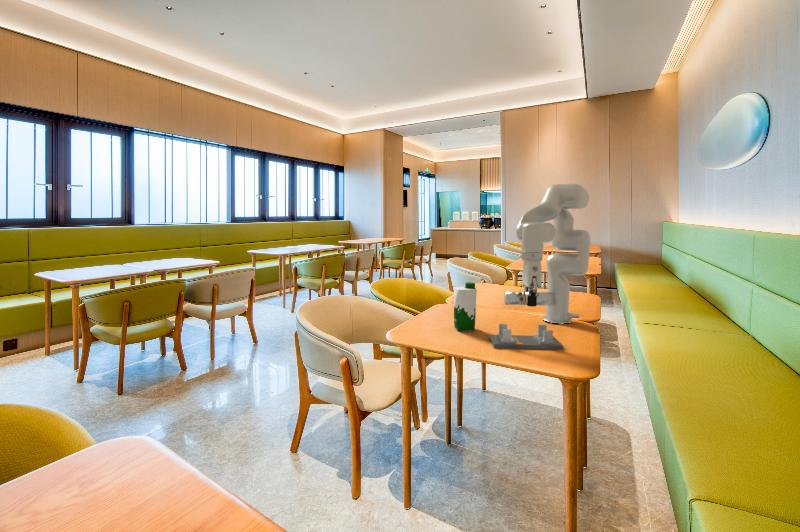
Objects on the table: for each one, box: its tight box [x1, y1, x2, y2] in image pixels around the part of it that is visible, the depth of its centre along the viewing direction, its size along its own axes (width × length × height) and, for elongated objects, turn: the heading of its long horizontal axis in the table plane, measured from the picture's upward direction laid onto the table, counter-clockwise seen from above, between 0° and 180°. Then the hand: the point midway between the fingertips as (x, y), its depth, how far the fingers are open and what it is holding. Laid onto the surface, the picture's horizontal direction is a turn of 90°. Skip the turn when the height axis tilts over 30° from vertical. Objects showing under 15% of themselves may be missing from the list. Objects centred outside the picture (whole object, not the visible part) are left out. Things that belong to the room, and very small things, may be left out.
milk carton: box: [453, 281, 478, 332], centre depth 174 cm, size 9×9×20 cm
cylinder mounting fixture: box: [488, 323, 564, 351], centre depth 155 cm, size 25×12×6 cm, turn 86°
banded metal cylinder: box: [503, 291, 556, 307], centre depth 153 cm, size 18×5×5 cm, turn 86°
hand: (529, 304), depth 153 cm, fingers closed on banded metal cylinder, 5 cm apart
